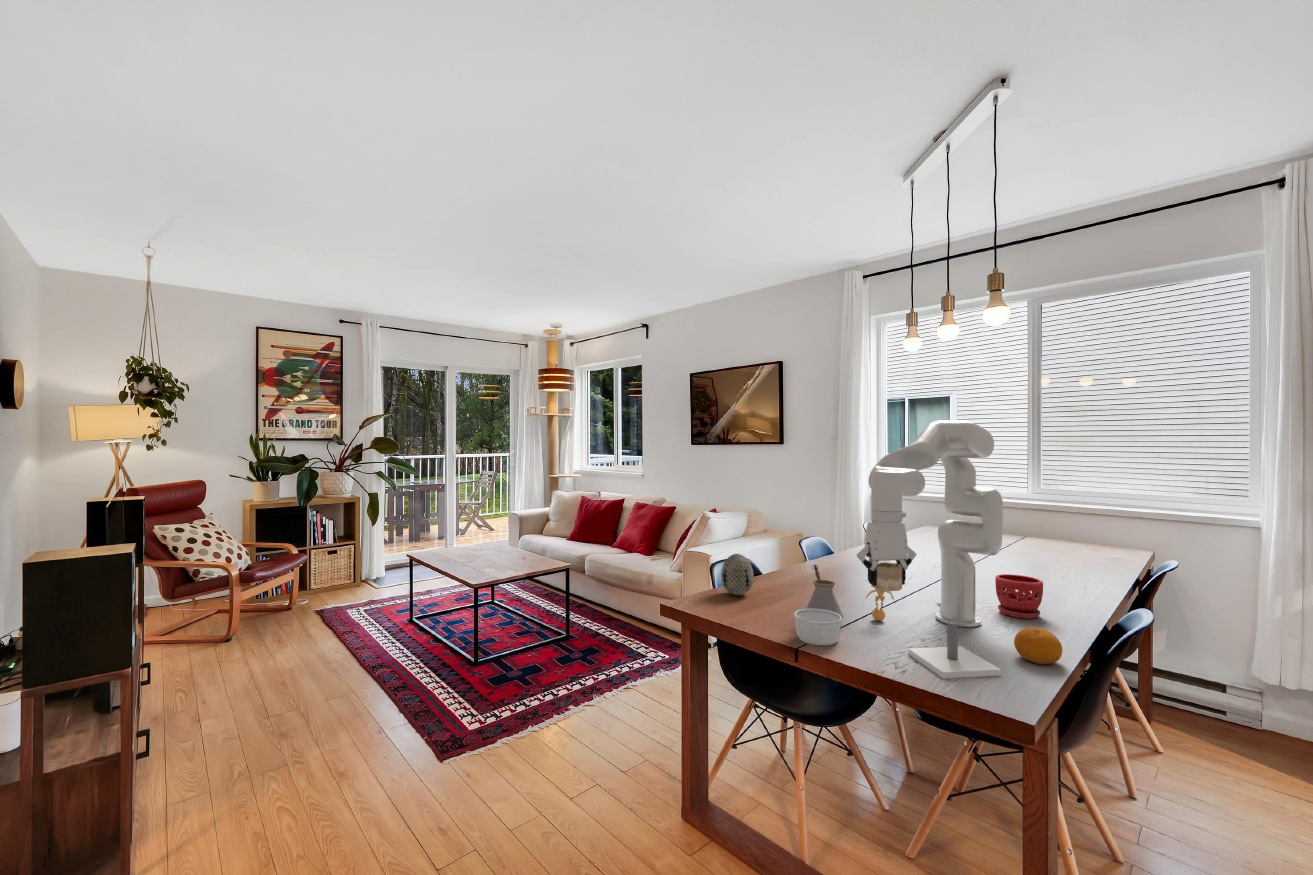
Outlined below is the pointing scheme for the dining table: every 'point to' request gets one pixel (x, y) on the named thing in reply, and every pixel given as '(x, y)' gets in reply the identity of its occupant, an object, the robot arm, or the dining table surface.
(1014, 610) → the plant pot
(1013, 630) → the dining table surface
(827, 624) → the ramekin
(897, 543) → the robot arm
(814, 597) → the coffee pot
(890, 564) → the bead
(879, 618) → the figurine
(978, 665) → the post board
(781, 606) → the dining table surface
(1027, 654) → the fruit
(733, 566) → the decorative egg
